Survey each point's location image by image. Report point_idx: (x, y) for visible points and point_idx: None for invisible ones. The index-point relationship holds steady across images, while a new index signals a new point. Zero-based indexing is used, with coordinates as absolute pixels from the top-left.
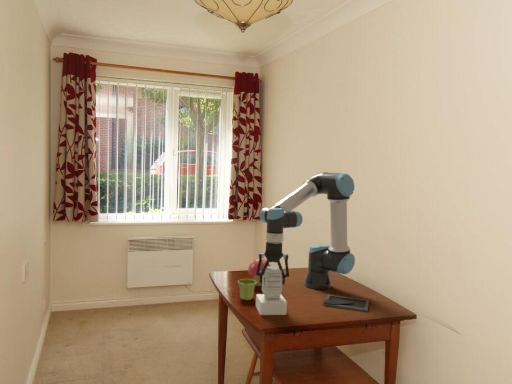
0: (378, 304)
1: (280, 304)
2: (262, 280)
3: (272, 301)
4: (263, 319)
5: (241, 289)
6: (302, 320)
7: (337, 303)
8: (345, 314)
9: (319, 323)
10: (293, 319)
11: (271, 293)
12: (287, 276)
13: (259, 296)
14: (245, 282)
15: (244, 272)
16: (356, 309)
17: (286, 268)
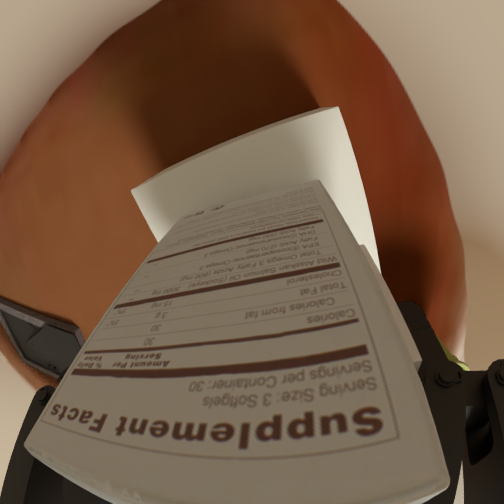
0: (9, 345)
1: (179, 165)
2: (401, 321)
3: (242, 164)
4: (285, 42)
5: (444, 346)
6: (80, 123)
7: (45, 333)
8: (6, 261)
9: (27, 128)
10: (117, 113)
11: (253, 206)
12: (50, 388)
13: None
14: None
15: None
16: (6, 303)
17: (21, 476)
